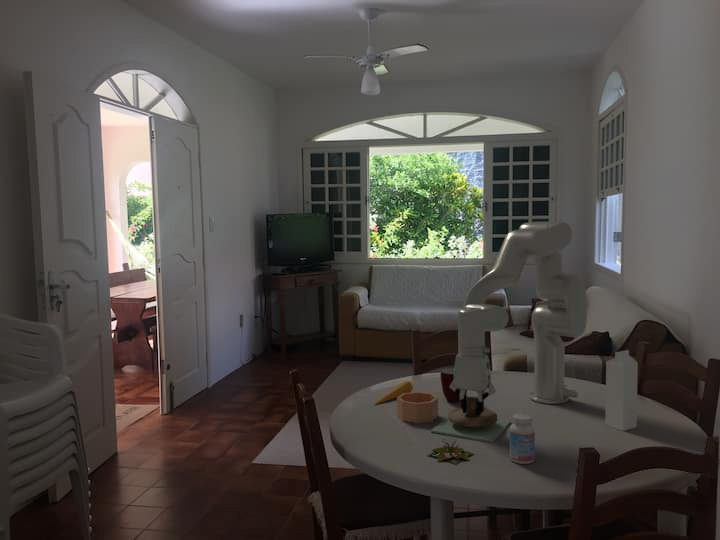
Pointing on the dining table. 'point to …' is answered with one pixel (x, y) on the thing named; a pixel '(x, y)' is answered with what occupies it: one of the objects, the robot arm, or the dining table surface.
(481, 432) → the mat
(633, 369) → the milk
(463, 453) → the lily flower
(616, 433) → the dining table surface
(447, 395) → the mug
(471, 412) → the lid
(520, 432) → the pill bottle
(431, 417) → the bowl
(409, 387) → the carrot
